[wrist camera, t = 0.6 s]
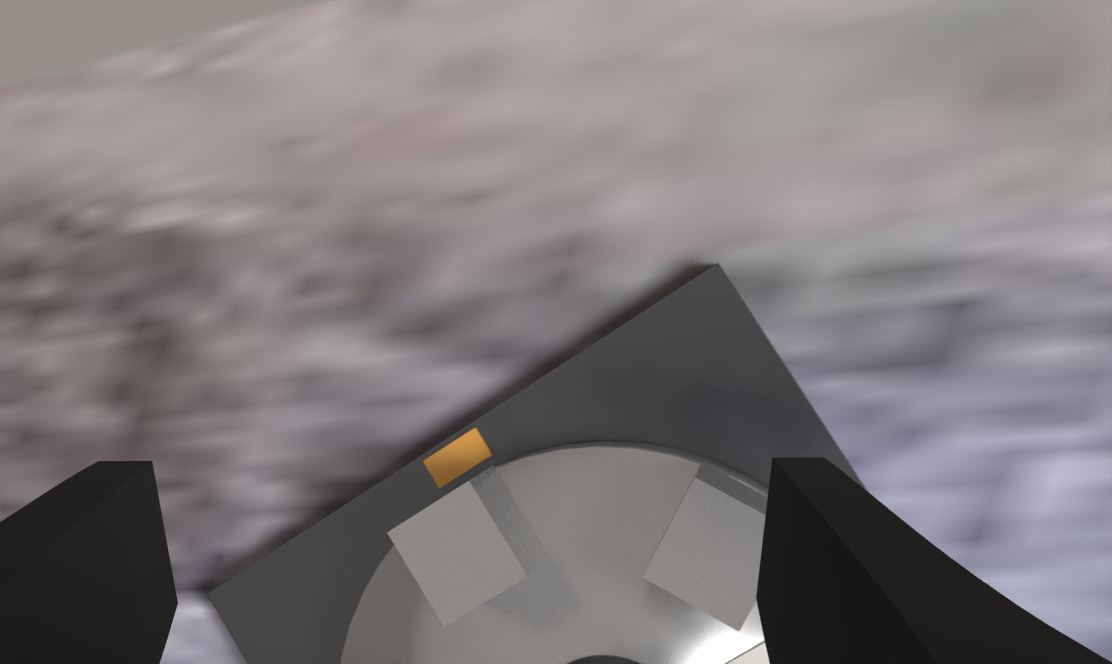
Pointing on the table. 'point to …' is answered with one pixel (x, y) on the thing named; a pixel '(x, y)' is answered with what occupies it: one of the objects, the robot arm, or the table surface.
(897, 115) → the table surface
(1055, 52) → the table surface
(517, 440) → the mount plate
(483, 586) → the metal disc with lugs
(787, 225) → the table surface
